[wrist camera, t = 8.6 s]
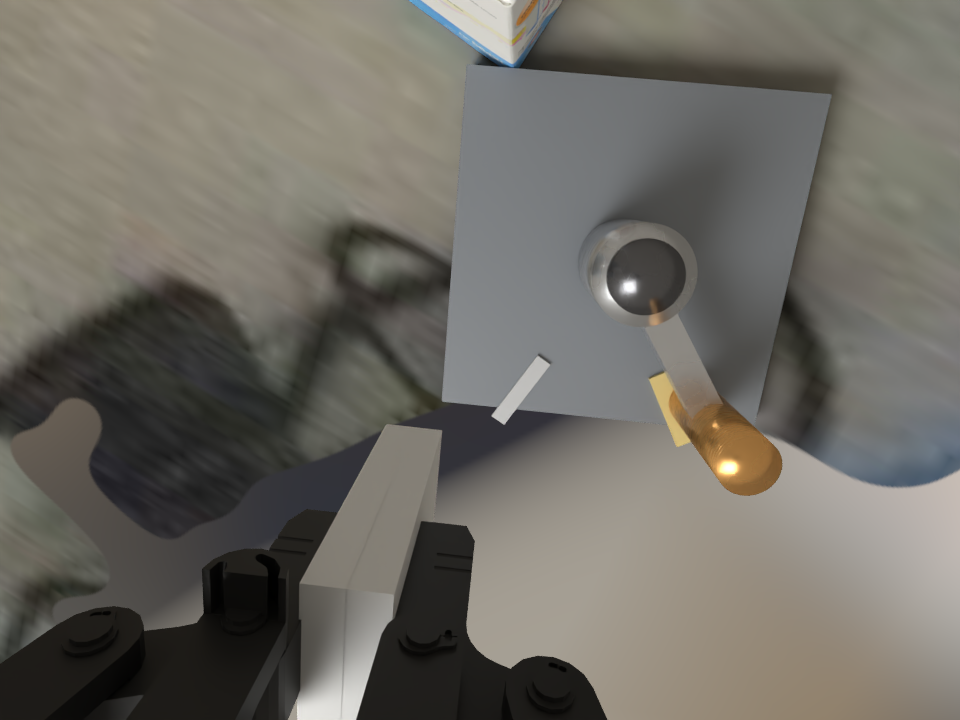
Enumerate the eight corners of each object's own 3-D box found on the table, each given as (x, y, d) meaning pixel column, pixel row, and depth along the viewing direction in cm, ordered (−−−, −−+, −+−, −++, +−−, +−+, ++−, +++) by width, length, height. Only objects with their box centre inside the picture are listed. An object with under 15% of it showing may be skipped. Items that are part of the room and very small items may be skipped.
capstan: (562, 246, 34) (578, 261, 25) (639, 202, 33) (684, 202, 24) (665, 438, 37) (712, 514, 28) (739, 402, 36) (813, 469, 27)
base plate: (444, 409, 40) (439, 421, 37) (469, 72, 34) (466, 62, 32) (736, 440, 39) (749, 454, 37) (813, 100, 33) (834, 93, 31)
